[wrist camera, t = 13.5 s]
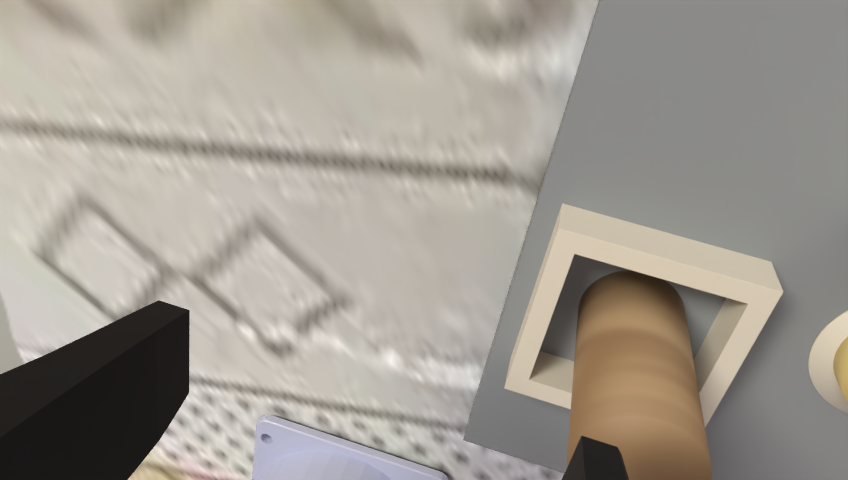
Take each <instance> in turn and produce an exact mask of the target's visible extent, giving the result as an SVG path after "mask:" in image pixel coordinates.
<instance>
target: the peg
mask: <svg viewBox="0 0 848 480" xmlns="http://www.w3.org/2000/svg"><path fill="white" fill-rule="evenodd" d="M581 435H582V436H585V437H588V438H591V439H594V440H597V441H601V442H604V443H607V444H610V445H613V446H616V447H618V449H619V451H620V452H621V454H622V458H623V461H624V464H625V468H626V471H627V474H628V477H629V480H711V479H712V467H711V461H710V455H709V449H708V443H707V437H706V431H705V426H704V420H703V414H702V408H701V402H700V396H699V390H698V384H697V378H696V372H695V366H694V361H693V355H692V349H691V343H690V337H689V331H688V325H687V319H686V313H685V307H684V304H683V301H682V299H681V297H680V295H679V294H678V292H677V291H676V290H675V288H674V287H673V286H672V285H670V284H669V283H668V282H667V281H665V280H664V279H660V278H657V277H653V276H650V275H646V274H643V273H639V272H636V271H632V270H627V271H618V272H614V273H611V274H608V275H605V276H603V277H601V278H599V279H598V280H596V281H595V282H593V283H592V284H591V285H590V286H589V287H588V288H587V289H586V291H585V292H584V294H583V295H582V297H581V299H580V303H579V307H578V318H577V331H576V345H575V358H574V371H573V384H572V398H571V411H570V424H569V438H568V451H567V467H568V465H569V463H570V460H571V458H572V456H573V454H574V451H575V449H576V447H577V444H578V442H579V440H580V438H581Z"/></svg>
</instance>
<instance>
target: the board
mask: <svg viewBox="0 0 848 480" xmlns="http://www.w3.org/2000/svg"><path fill="white" fill-rule="evenodd" d="M627 270H632V271H636V272H639V273H643V274H646V275H650V276H653V277H657V278H660V279H664V280H665V281H667V282H668V283H669V284H670V285H672V286H673V287H674V288H675V290H676V291H677V292H678V294H679V295H680V297H681V299H682V301H683V304H684V307H685V313H686V319H687V325H688V331H689V337H690V343H691V349H692V355H693V361H694V366H695V372H696V378H697V384H698V390H699V396H700V402H701V408H702V414H703V420H704V426H705V431H706V437H707V443H708V449H709V455H710V461H711V467H712V479H711V480H848V0H599V3H598V6H597V9H596V12H595V15H594V19H593V22H592V25H591V28H590V31H589V35H588V38H587V41H586V44H585V48H584V51H583V54H582V57H581V60H580V64H579V67H578V70H577V73H576V76H575V80H574V83H573V86H572V89H571V92H570V96H569V99H568V102H567V105H566V108H565V112H564V115H563V118H562V121H561V125H560V128H559V131H558V134H557V137H556V141H555V144H554V147H553V150H552V153H551V157H550V160H549V163H548V166H547V169H546V173H545V176H544V179H543V182H542V186H541V189H540V192H539V195H538V198H537V202H536V205H535V208H534V211H533V214H532V218H531V221H530V224H529V227H528V230H527V234H526V237H525V240H524V243H523V246H522V250H521V253H520V256H519V259H518V263H517V266H516V269H515V272H514V275H513V279H512V282H511V285H510V288H509V291H508V295H507V298H506V301H505V304H504V307H503V311H502V314H501V317H500V320H499V324H498V327H497V330H496V333H495V336H494V340H493V343H492V346H491V349H490V352H489V356H488V359H487V362H486V365H485V368H484V372H483V375H482V378H481V381H480V384H479V388H478V391H477V394H476V397H475V401H474V404H473V407H472V410H471V413H470V417H469V420H468V424H467V428H466V432H465V436H464V440H465V441H468V442H471V443H474V444H477V445H480V446H483V447H486V448H489V449H492V450H495V451H498V452H502V453H505V454H508V455H511V456H514V457H517V458H520V459H523V460H526V461H529V462H532V463H535V464H538V465H541V466H544V467H547V468H550V469H554V470H557V471H560V472H563V473H565V472H566V469H567V451H568V438H569V424H570V411H571V398H572V384H573V371H574V358H575V345H576V331H577V318H578V307H579V303H580V299H581V297H582V295H583V294H584V292H585V291H586V289H587V288H588V287H589V286H590V285H591V284H592V283H593V282H595V281H596V280H598V279H599V278H601V277H603V276H605V275H608V274H611V273H614V272H618V271H627Z"/></svg>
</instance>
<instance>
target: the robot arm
mask: <svg viewBox="0 0 848 480" xmlns="http://www.w3.org/2000/svg"><path fill="white" fill-rule="evenodd" d="M188 393H189V310H187V309H184V308H181V307H178V306H174V305H171V304H168V303H165V302H162V301H157V302H155V303H152V304H150V305H148V306H146V307H144V308H142V309H139V310H137V311H135V312H133V313H131V314H129V315H127V316H125V317H123V318H121V319H119V320H117V321H115V322H113V323H111V324H109V325H107V326H105V327H103V328H101V329H99V330H97V331H95V332H93V333H91V334H88V335H86V336H84V337H82V338H80V339H78V340H76V341H74V342H72V343H69V344H67V345H65V346H63V347H61V348H59V349H57V350H55V351H53V352H51V353H48V354H46V355H44V356H42V357H40V358H37V359H35V360H33V361H30V362H28V363H26V364H23V365H21V366H19V367H17V368H14V369H12V370H10V371H7V372H5V373H3V374H0V480H128V478H129V477H130V476H131V475H132V473H133V472H134V471H135V470H136V468H137V467H138V466H139V465H140V464H141V462H142V461H143V460H144V459H145V457H146V456H147V455H148V454H149V452H150V451H151V450H152V449H153V447H154V446H155V445H156V444H157V442H158V441H159V440H160V438H161V437H162V435H163V433H164V432H165V430H166V429H167V427H168V426H169V424H170V423H171V421H172V420H173V418H174V416H175V415H176V413H177V411H178V410H179V408H180V407H181V405H182V403H183V402H184V400H185V398H186V397H187V395H188ZM267 434H268V435H267ZM252 480H449V479H448V477H447V476H446V475H445V474H444V473H442V472H440V471H438V470H435V469H432V468H429V467H426V466H423V465H420V464H417V463H414V462H411V461H408V460H405V459H402V458H399V457H396V456H393V455H390V454H387V453H384V452H381V451H378V450H375V449H372V448H369V447H366V446H363V445H360V444H357V443H354V442H351V441H348V440H345V439H342V438H339V437H336V436H333V435H330V434H327V433H324V432H321V431H318V430H315V429H312V428H309V427H306V426H303V425H300V424H297V423H294V422H291V421H288V420H285V419H282V418H279V417H276V416H273V415H264V416H262V417H261V418H260V420H259V421H258V423H257V426H256V439H255V451H254V464H253V476H252ZM562 480H629V477H628V474H627V471H626V468H625V464H624V461H623V458H622V454H621V452H620V451H619V449H618V447H616V446H613V445H610V444H607V443H604V442H601V441H597V440H594V439H591V438H588V437H585V436H582V435H581V438H580V440H579V442H578V444H577V447H576V449H575V451H574V454H573V456H572V458H571V460H570V463H569V465H568V467H567V469H566V472H565V474H564V476H563V478H562Z"/></svg>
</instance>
